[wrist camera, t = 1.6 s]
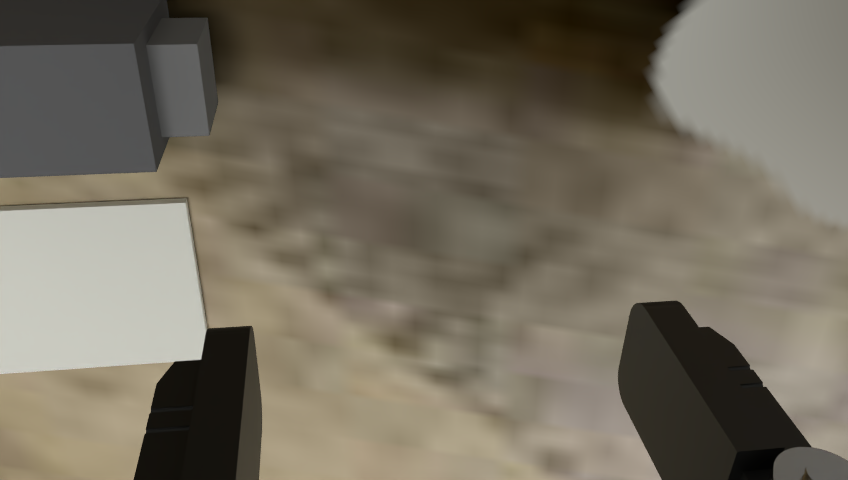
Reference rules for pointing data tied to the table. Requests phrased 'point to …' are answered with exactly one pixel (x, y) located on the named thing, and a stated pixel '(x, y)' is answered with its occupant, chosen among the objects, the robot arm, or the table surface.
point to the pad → (98, 285)
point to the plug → (99, 85)
